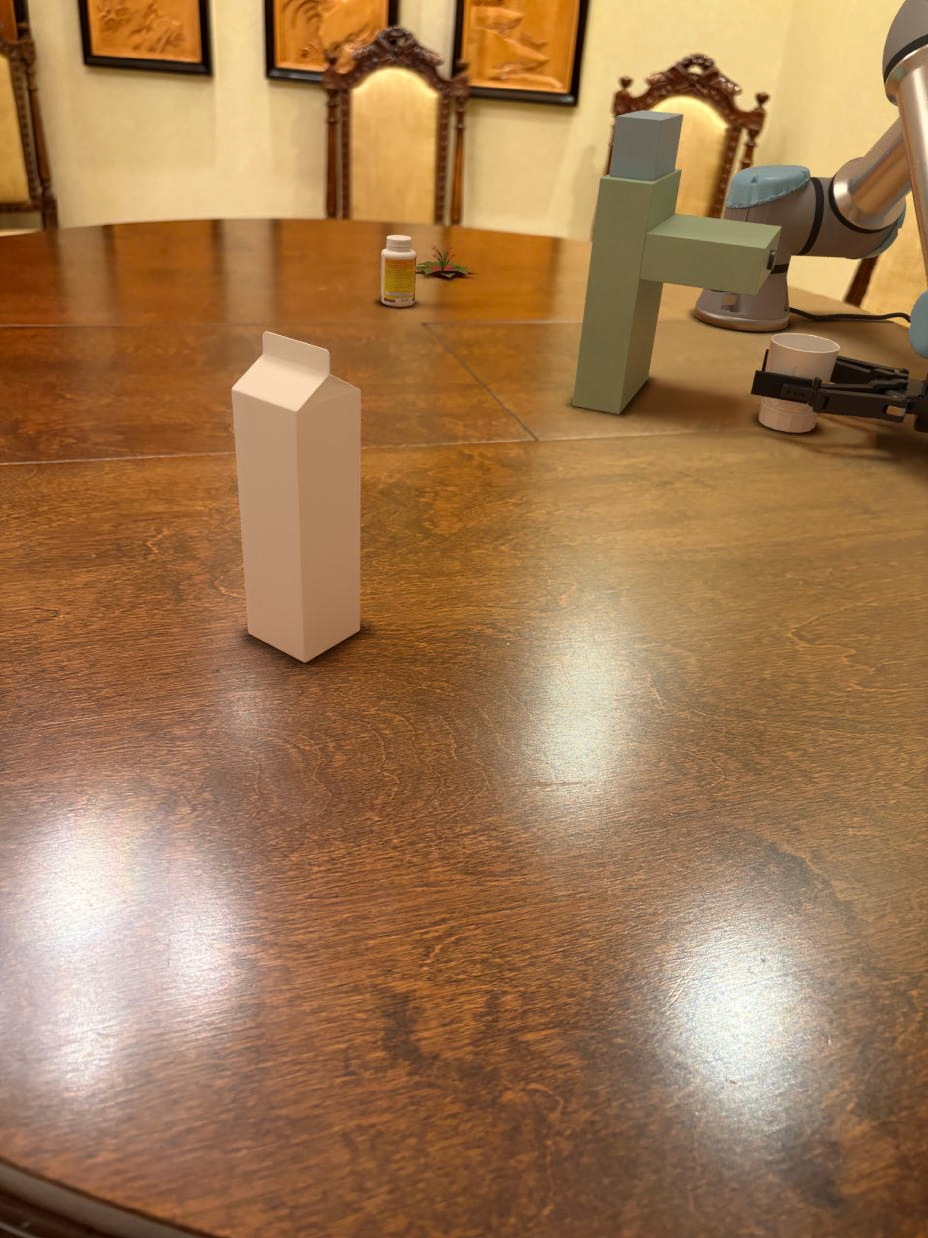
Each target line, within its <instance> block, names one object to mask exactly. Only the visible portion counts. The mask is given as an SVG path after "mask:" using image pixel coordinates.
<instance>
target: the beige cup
mask: <svg viewBox="0 0 928 1238" xmlns="http://www.w3.org/2000/svg"><path fill="white" fill-rule="evenodd" d="M768 349H769V352H768V357H767V363H766V368H765V372H771V373H777V374H783V375H789V376H795V377H801V378H807V379H813V382H814V378H815V377H818V378H820V379H821V380H822V383H824V384H830V383H831V382H830V379H831V376H832V372H833V369H834V366H835V363H836V359H837V356H839V353H840V350H841V346H840V345H839V343H837V342H836V341H833V340H831V339H828V338H826V337H822V336H819V335H813V334H809V333H799V332H798V333H797V332H783V333H782V332H781V333H777V334H773V335H772V336H771V337H770V341H769V346H768ZM812 386H813V384H812ZM760 399H761V400H760V404H759V410H758V414H757V415H758V416H757V419H758V422H759V423H761V425H763V426H764V427H768V428H770V429H772V430H776V431H782V432H785V433H793V434H795V433H798V434H799V433H807V432H810V431H812V430H813V429H814V428H815V427H816V425H817V424H816V423H817V419H818V417H819V414H820V413H815V412H813V411H812V410H813V407H811V406H809V405H808V403H807V404H804V403H798V402H792V401H786V400H781V399H775V398H769V397H763V396H760Z"/></svg>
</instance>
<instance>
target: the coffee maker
mask: <svg viewBox="0 0 928 1238" xmlns="http://www.w3.org/2000/svg"><path fill="white" fill-rule="evenodd" d="M615 118H616V119H615V125H614V126H615V127H614V134H613V136H614V137H613V143H612V149H611V150H612V152H611V159H610V167H609V174H606V175H604V176H601V177H600V178H599V182H598V183H599V184H598V192H597V201H596V209H595V218H594V224H593V233H592V241H591V250H590V259H589V266H588V274H587V284H586V293H585V299H584V307H583V316H582V324H581V331H580V332H581V333H580V340H579V347H578V348H579V349H578V355H577V357H578V358H577V363H576V374H575V382H574V389H573V398H572V406H573V407H579V408H583V409H588V410H593V411H594V410H595V411H598V412H599V411H600V412H605V413H610V414H616V415H620V414H621V413H622V412H623V410H624V409H625V408H626V407H627V405H628V404H629V403H630V402H631V400H632V399H633V398H634V397H635V395H636V394H637V393H638V392H639V390H640V389H641V388H642V387H643V385H645V383H646V382H647V381H648V380H649V375H650V369H651V363H652V357H653V350H654V345H655V337H656V333H657V326H658V321H659V320H658V319H659V313H660V307H661V301H662V295H663V288H664V284H668V285H669V284H671V285H677V286H683V287H692V288H696V289H697V288H698V289H703V288H704V289H709V290H711V291H715V292H731V293H738V294H745V295H752V296H756V294H757V292H758V291H759V289H760V288H761V286H762V285H763V283H764V282H765V280H766V279H767V277H768V275H769V274H770V272H771V271H772V270H773V267H774V264H775V260H776V255H777V247H778V242H779V238H780V233H781V228H782V227H781V226H773V225H765V224H757V223H749V222H741V221H733V220H725V219H723V218H715V217H709V216H699V215H691V214H683V213H677V212H676V209H677V203H678V197H679V191H680V185H681V184H680V183H681V177H682V173H683V172H682V171H683V169H682V168H676V164H677V159H678V151H679V146H680V140H681V139H680V138H681V134H682V127H683V121H684V114H683V113H675V112H663V111H654V110H643V109H641V110H637V111H632V112H629V113H624V114H620V115H617V116H616V117H615Z"/></svg>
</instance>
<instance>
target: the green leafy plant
mask: <svg viewBox="0 0 928 1238" xmlns="http://www.w3.org/2000/svg"><path fill="white" fill-rule="evenodd" d="M431 249H432V250H433V251H435V252H436V253H437V254H436V253H434V254H432V257H433V258H436V259H437V261H436V260H435V261H430V260H427V261H423V262H420V263H417V265H418V266H417V265H416V271H424V275H425V276H426V275H428V274H429V275H430V274H432V273H436V274H439V275H443V276H445V277H448V278H451V277H452V276H454V275H456V273H457V272H458V273H461V274H463V275H466V276H470V274H469V273H468V271H473V270H476V268H472V267H468V266H460V265H461V264H460V263H458V264H457V263H454V262H450V261H451V259H453V258H454V257H455V256H456V254H455V253H454V254H452V255H451V256H450V257H449V255H450V254H451V252H450V251H451V250H452V249H453V247H450V248H449V246H447V247H446V249H445V250H444V253H443V254H442V252H441V251H440V250H439V249H438V248H437V246H435V245H433V246H431ZM448 257H449V259H448Z"/></svg>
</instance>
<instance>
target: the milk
mask: <svg viewBox="0 0 928 1238" xmlns="http://www.w3.org/2000/svg"><path fill="white" fill-rule="evenodd" d="M231 402H232V415H233V416H232V417H233V418H232V419H233V432H234V447H235V460H236V461H235V462H236V475H237V477H236V478H237V490H238V504H239V516H240V517H239V518H240V519H239V520H240V534H241V549H242V561H243V577H244V579H243V580H244V591H245V592H244V593H245V607H246V620H247V621H246V622H247V632H248V634H249V635H251V636H252V637H255V638H256V639H258V640H260V641H262V642H264V643H266V644H268V645H270V646H272V647H273V648H276V649H277V650H279V651H281V652H283V653H285V654H287V655H289V656H290V657H292V658H295V659H296V660H299V661H301V662H302V663H307V662H309V661H311V660H313V659H315V658H317V656H319V655H321V654H323V653H324V652H326V651H328V650H330V649H331V648H333V647H334V646H337V645H338V644H340V643H342V641H345V640H346V639H348V638H350V637H352V636H353V635H355V634H356V633H358V632H360V630H361V497H362V496H361V493H362V492H361V488H362V487H361V486H362V485H361V484H362V483H361V481H362V480H361V479H362V478H361V474H362V473H361V471H362V470H361V469H362V466H361V464H362V462H361V460H362V459H361V458H362V453H361V452H362V447H361V446H362V443H361V441H362V419H361V418H362V390H361V389H360V388H358V387H357V386H354V385H352V384H351V383H349V382H347V381H345V380H344V379H341V378H339V377H337V376H335V375H333V374H331V354H330V351H329V350H328V349H327V348H323V347H320V346H317V345H314V344H310V343H307V342H303V341H301V340H297V339H293V338H290V337H287V336H284V335H280V334H277V333H274V332H270V331H263V333H262V354H261V355H260V356H259V357H258V359H256V361H255V362H254V363H253V364H252V365H251V366H250V367H249V368H248V370H246V371H245V373H244V374H243V375H242V376H241V378H239V379H238V381H237V382H235V384H234V385H233V386H232V387H231Z"/></svg>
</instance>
